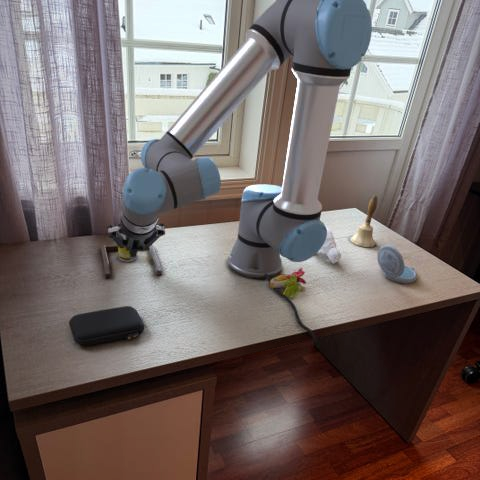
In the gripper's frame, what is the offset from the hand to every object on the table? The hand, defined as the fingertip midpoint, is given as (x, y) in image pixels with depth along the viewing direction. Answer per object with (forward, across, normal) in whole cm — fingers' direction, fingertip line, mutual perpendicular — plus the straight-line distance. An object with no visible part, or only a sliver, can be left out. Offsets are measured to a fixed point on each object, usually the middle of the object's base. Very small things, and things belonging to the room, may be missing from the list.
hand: (132, 251), depth 116 cm
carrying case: (-15, -8, -22) cm, 28 cm away
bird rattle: (-10, +35, -15) cm, 39 cm away
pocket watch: (-5, +76, -13) cm, 77 cm away
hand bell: (+11, +77, +3) cm, 78 cm away
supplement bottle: (+9, -1, +1) cm, 9 cm away
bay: (+7, 0, 0) cm, 7 cm away
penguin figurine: (+5, +58, -3) cm, 58 cm away
